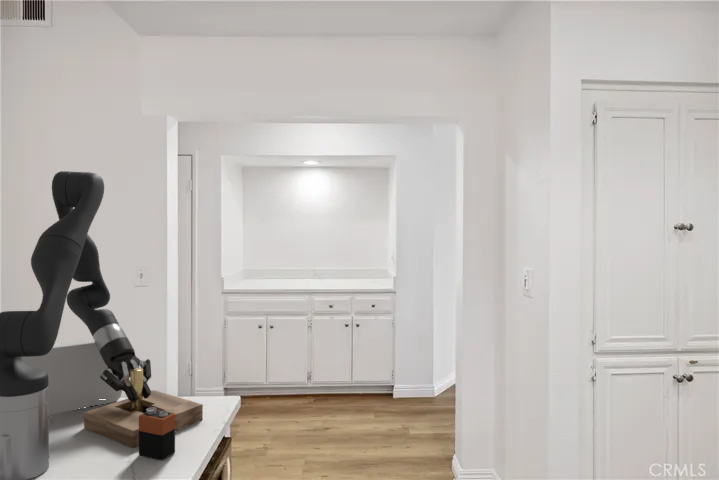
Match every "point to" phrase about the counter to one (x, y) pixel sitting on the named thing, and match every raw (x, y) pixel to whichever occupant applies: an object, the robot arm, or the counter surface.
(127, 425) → the walnut keyhole plate
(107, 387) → the grey rounded panel
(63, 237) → the robot arm
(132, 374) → the brass peg
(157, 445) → the battery
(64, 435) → the counter surface
